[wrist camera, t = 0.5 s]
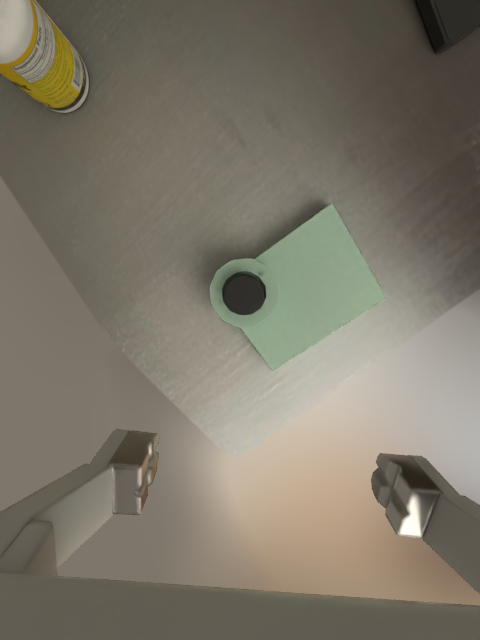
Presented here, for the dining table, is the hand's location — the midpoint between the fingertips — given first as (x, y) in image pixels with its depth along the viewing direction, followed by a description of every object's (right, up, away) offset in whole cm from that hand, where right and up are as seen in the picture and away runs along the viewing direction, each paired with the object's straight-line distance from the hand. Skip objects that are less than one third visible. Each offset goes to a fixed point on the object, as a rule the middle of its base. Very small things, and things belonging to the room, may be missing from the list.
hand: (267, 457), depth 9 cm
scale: (+5, +8, +18) cm, 20 cm away
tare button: (-1, +8, +15) cm, 17 cm away
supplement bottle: (-17, +26, +13) cm, 34 cm away
